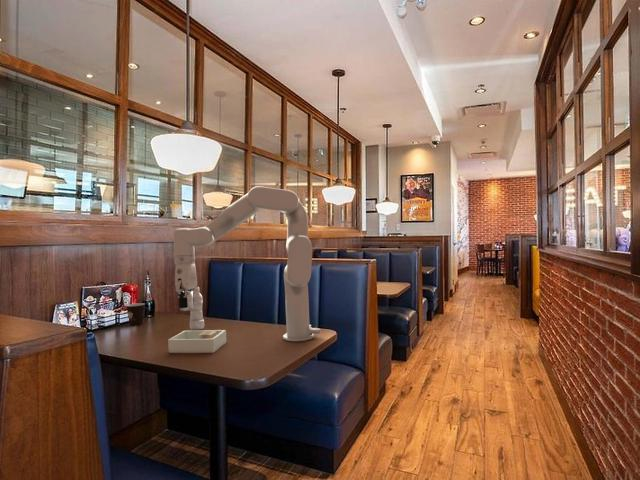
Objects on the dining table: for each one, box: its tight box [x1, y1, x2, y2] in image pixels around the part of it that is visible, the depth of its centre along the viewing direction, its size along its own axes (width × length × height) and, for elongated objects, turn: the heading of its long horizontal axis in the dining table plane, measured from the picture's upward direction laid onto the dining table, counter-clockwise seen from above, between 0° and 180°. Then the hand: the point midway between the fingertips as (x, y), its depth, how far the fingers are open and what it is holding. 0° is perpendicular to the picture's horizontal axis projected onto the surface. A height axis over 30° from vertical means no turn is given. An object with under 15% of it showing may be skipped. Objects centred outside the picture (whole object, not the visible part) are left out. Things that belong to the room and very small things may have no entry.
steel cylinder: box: [179, 291, 194, 312], centre depth 153 cm, size 5×5×7 cm
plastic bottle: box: [188, 286, 205, 331], centre depth 182 cm, size 6×7×20 cm
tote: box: [167, 329, 227, 354], centre depth 153 cm, size 18×14×5 cm
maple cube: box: [199, 331, 217, 339], centre depth 153 cm, size 5×5×5 cm
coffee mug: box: [126, 302, 149, 327], centre depth 198 cm, size 12×9×10 cm
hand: (186, 305), depth 153 cm, fingers closed on steel cylinder, 5 cm apart
